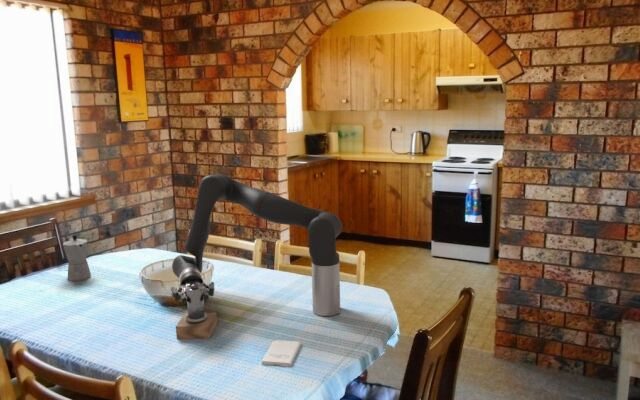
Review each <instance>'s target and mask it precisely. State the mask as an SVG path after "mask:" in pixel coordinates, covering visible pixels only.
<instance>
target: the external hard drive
mask: <svg viewBox="0 0 640 400" xmlns="http://www.w3.org/2000/svg"><path fill="white" fill-rule="evenodd" d="M301 346H302V343H301V342H300V341H295V340H294V341H293V340H292V341H291V340H282V339H281V340H280V339H274V340H273V342H272V343H271V344H270V347H269V349H268V350H267V352H266V353H265V355H264V356H263V359H262V360H261V365H268V366H269V365H270V366H279V367H280V366H282V367H283V366H284V367H292V364H293V363H294V360H295V358H296V356H297V354H298V352H299V350H300V348H301Z"/></svg>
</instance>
